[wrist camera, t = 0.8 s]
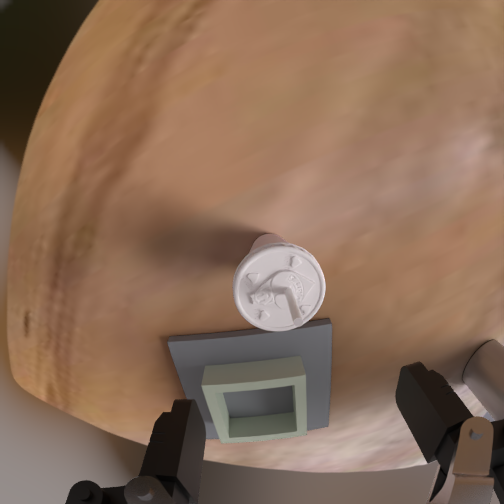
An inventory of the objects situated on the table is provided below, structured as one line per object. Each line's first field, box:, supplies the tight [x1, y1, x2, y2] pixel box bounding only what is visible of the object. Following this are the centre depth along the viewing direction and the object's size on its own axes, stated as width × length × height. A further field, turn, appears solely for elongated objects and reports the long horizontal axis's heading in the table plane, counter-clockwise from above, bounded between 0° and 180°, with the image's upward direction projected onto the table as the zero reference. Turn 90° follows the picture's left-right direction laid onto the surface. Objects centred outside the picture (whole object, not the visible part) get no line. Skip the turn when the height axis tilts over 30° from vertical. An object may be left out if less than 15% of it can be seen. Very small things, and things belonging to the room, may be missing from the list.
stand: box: [167, 318, 332, 443], centre depth 31 cm, size 18×18×5 cm
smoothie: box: [233, 234, 325, 331], centre depth 22 cm, size 6×6×14 cm
